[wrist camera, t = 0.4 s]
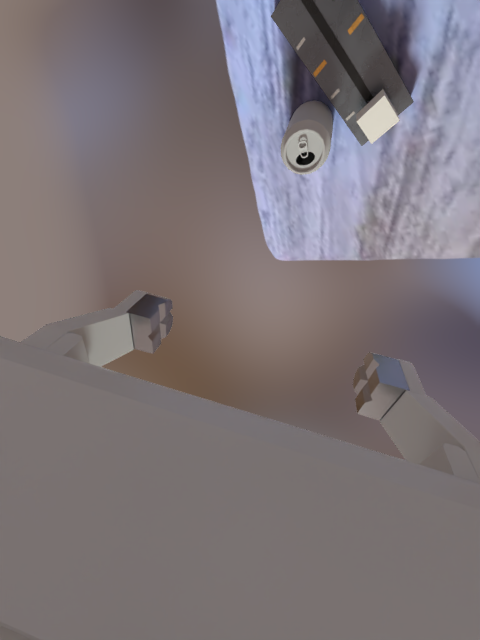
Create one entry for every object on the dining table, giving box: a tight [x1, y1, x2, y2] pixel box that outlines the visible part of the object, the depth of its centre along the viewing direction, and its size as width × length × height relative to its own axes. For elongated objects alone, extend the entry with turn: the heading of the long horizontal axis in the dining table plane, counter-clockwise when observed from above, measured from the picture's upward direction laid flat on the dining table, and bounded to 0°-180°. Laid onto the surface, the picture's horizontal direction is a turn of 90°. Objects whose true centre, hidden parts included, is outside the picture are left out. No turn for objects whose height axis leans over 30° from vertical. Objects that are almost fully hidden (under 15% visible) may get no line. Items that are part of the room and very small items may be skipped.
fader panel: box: [271, 0, 413, 146], centre depth 37 cm, size 8×22×3 cm, turn 50°
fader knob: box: [356, 89, 400, 144], centre depth 38 cm, size 4×4×5 cm
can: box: [281, 100, 333, 175], centre depth 42 cm, size 8×8×12 cm
